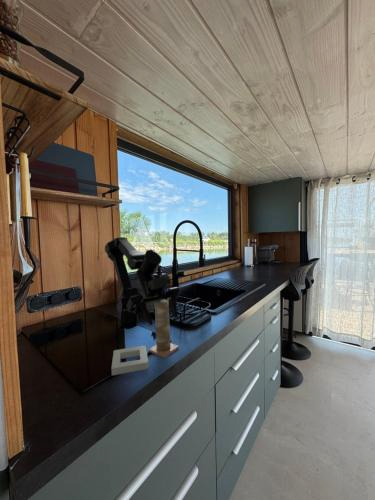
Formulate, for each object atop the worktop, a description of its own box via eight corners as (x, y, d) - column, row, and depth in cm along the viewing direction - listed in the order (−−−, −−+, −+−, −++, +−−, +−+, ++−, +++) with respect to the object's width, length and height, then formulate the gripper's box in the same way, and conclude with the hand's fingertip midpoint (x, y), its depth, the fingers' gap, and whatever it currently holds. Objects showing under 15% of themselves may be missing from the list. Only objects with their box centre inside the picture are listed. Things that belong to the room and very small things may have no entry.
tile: (148, 351, 73) (148, 349, 73) (163, 342, 79) (162, 340, 79) (164, 358, 69) (164, 355, 69) (178, 348, 75) (178, 346, 75)
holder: (114, 356, 71) (113, 350, 71) (145, 351, 73) (145, 345, 73) (111, 375, 61) (111, 368, 61) (148, 368, 64) (148, 362, 64)
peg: (158, 352, 71) (156, 304, 70) (155, 345, 75) (152, 300, 74) (172, 349, 73) (170, 302, 72) (168, 342, 77) (166, 298, 76)
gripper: (128, 271, 69) (145, 315, 61) (177, 264, 81) (197, 301, 73) (120, 291, 76) (135, 333, 68) (166, 282, 88) (184, 318, 80)
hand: (164, 320), depth 72 cm, fingers open, 9 cm apart
